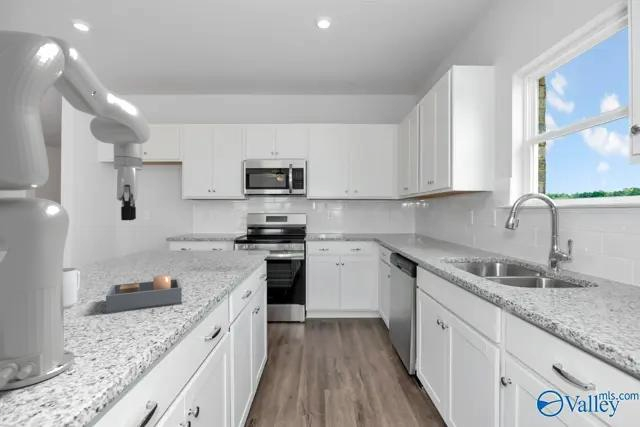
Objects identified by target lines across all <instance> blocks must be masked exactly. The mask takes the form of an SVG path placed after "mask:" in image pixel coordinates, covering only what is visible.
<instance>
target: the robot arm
mask: <svg viewBox="0 0 640 427" xmlns="http://www.w3.org/2000/svg"><path fill="white" fill-rule="evenodd" d="M52 86H53V88H55V90H56V91H57V92H58V93H59V94H60V95H61V96H62V97H63V98H64V99H65V100H66V101H67V103H68V104H69V105H71V106H72V108H74V109H76V110H77V111H79V112H80V113H81V112H82V113H86V114H87V115H91V116H94V117H93V118H92V119H91V121H90V123H89V129H90V133H91V135H92V136H93V137H94V138H95V139H96V140H97V141H99V142H101V143H104V144H110V145H113V169H114V170H117V175H116V200H117V201H119V202H121V206H120V220H121V221H134V220H136V218H137V208H136V201H137V200H138V191H139V171H143V144H145V143H146V142H148V141H149V139H150V136H151V131H150V130H151V129H150V125H149V123H148V121H147V120H146V118H145V116H144V115H143V112H142V111H141V109H140V108H139V107H138V106H137V105H136V104H134V103H133V102H131V101H130V100H129V99H127V98H125V97H123V96H122V95H120V94H118V93H116V92H115V91H113V90H111V89H108V88H106V87H105V86H104V85H103V84H102V82H101V81H100V79H99V78H98V77H97V75H96V74H95V72H94V71H93V70H92V68H91V67H90V65H89V64H88V62H87V61H86V60H85V58H84V57H83V56H82V54H81V52H79V50H78V49H77V48H76V46H75V45H73V44H72V43H71V42H69V41H67V40H65V39H63V38H60V37H56V36H50V35H49V36H47V35H42V34H38V33H34V32H26V31H17V30H3V29H0V191H2V192H3V191H4V192H6V191H7V192H10V191H11V192H15V191H17V192H18V191H28V190H29V191H31V190H35V189H36V190H37V189H39V188H41V187H43V186H44V185H45V184H46V183H47V182H48V180H49V175H50V168H49V160H48V154H47V149H46V143H45V138H44V132H43V125H42V120H41V105H42V102H43V98H44V97H45V95H46V93H47V92H48V91H49V89H50V88H51V87H52ZM69 227H70V217H69V214H68V211H67V210H66V209H65V208H64V206H63V205H62V204H60V203H59V202H56V201H54V200H51V199H48V198H44V197H43V198H42V197H32V196H31V197H29V196H26V197H25V196H23V197H20V196H19V197H15V196H14V197H13V196H10V197H9V196H7V197H4V196H3V197H0V252H6V253H5V255H4V256H3V258H2V259H1V260H0V391H7V390H12V389H14V390H15V389H18V388H23V387H26V386H27V387H28V386H31V385H34V384H37V383H41V382H42V381H46V380H48V379H51V378H53V377H55V376H57V375H59V374H61V373H63V372H65V371H66V370H68V369H69V368H70V367H71V366H72V365H74V362H75V354H74V352H72V351H69V350H65V333H64V331H65V327H64V326H65V323H64V322H65V321H64V318H65V317H64V316H65V315H64V309H63V268H64V252H65V248H66V241H67V237H68V233H69Z"/></svg>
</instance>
